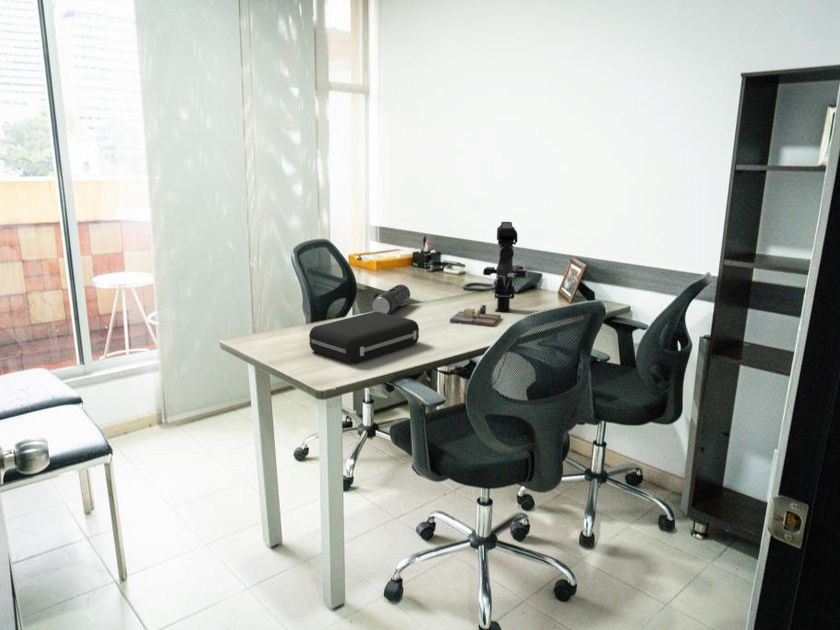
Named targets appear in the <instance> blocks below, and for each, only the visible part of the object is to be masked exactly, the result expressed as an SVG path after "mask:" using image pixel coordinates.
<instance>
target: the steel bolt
mask: <svg viewBox="0 0 840 630" xmlns="http://www.w3.org/2000/svg"><path fill="white" fill-rule="evenodd" d="M479 306H480V307H479V309H480V313H479V317H481V318H485V315H486V314H487V313H486V312H487V305H486V304H480V305H479ZM473 317H477V311H475V312H473Z"/></svg>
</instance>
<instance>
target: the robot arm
mask: <svg viewBox="0 0 840 630" xmlns="http://www.w3.org/2000/svg"><path fill="white" fill-rule="evenodd" d="M496 241H497V245H498V247H499V258H498V259H499V261H498V264H497V266H496V268H495V267H493V266H486V267H485V268H484V269H483V272H482V274H483V276H491V275H492V274H496V276H495V278H497V280H496V285H495V286H494V299H497V300H496V301H497V303H496V307H497V308H496V309H495V310H494V312H501V313H510V312H511V311H512V308H511V305H510V304H511V303H510V302H511V301H510V300H514V299H515V292H516V291H515V290H516V288H515V287H514V285H513V279H514V278H515V276H516V277H517V278H523V279H525V278H527V277H528V275H529V272H528V269H526V268H525V269H524V268H523V269H522V268H518V269H517V270H514V265H513V261H514V260H513V257H514V255H515V254H514V253H515V252H514V246H515V245H516V244H517V243H518V231H517V230H516V228H515V227H514V226H513V222H512V221H501V223H500V225H499V226H498V227H497V229H496Z"/></svg>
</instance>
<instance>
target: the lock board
mask: <svg viewBox="0 0 840 630" xmlns="http://www.w3.org/2000/svg"><path fill="white" fill-rule="evenodd" d="M463 314H464V311H461V310H460V311H458V312H457V313H456V314H455V315H453V316H451V317H450V319H449V323H450V322H452V323H451V324H459V323H461V324H462V325H469V324H470V326H471V325H472V326H479V327H480V326H481V327H490V328H493V327H495V325H496V324H497V323H498V322H499V321H500V319H501V317H502V315H501V314H494V313H493V314H492V313H491V314H490V313H486V315H485V318H481V317H479V318H478V319H477V317H473V318H467V317H463Z"/></svg>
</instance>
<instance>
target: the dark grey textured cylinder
mask: <svg viewBox="0 0 840 630" xmlns="http://www.w3.org/2000/svg"><path fill="white" fill-rule="evenodd" d="M410 297H411V291H410V289H409V287H408V286H407V285H404V284H397V285H395V286H394V287H392V288H390V289H388V290H387V291H385V292H383V293H380V294H378V295H377V296H375V298H374V299H373V301H372V305H371V306H372V311H373V312H375V311H377V312H381V313H386V314H390V315H391V313H392V312H394V311H395V310H397V309H398V308H399V307H401V306H402V305H403V304H405V303H406V302H408V301H409V300H410Z"/></svg>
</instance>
